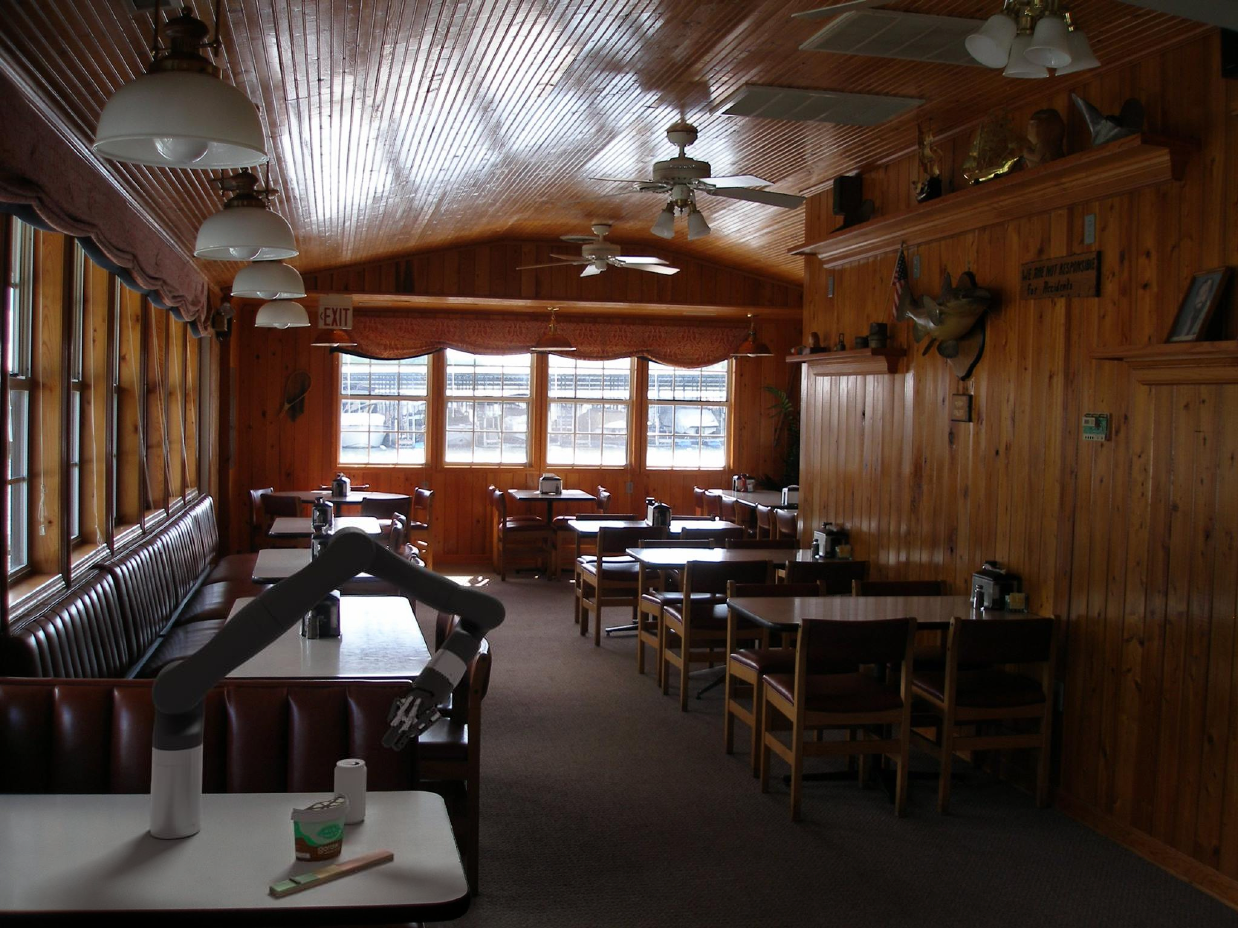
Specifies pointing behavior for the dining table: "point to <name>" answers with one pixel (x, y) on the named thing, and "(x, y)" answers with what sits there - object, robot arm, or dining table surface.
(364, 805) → the beverage can
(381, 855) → the strip
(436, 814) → the dining table surface
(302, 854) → the food container
